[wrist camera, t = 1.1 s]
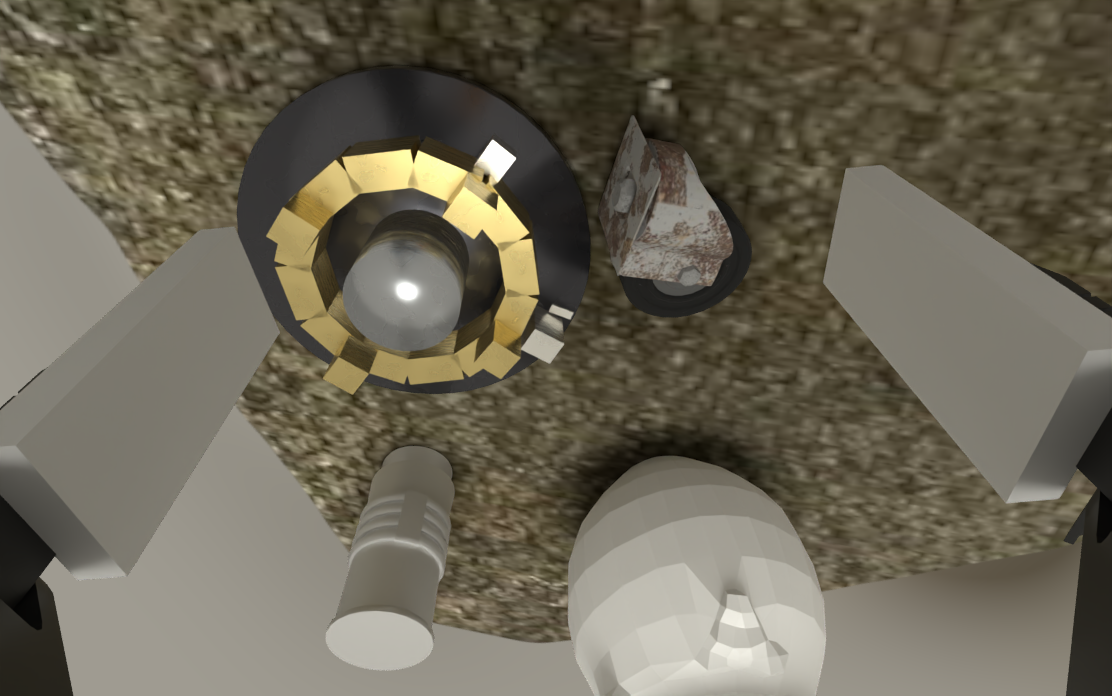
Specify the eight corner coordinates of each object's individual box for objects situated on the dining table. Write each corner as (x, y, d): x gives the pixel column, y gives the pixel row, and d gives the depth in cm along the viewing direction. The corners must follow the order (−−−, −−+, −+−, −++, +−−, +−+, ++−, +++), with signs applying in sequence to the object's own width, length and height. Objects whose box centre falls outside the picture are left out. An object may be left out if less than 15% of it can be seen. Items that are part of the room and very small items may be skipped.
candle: (468, 452, 49) (447, 621, 37) (445, 507, 53) (419, 677, 40) (386, 431, 48) (334, 600, 35) (368, 489, 51) (316, 661, 39)
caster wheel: (697, 280, 44) (569, 265, 41) (774, 141, 36) (623, 110, 34) (726, 345, 40) (585, 333, 37) (821, 203, 32) (651, 173, 29)
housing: (185, 89, 33) (105, 119, 27) (574, 43, 33) (584, 63, 26) (313, 395, 45) (278, 465, 39) (598, 365, 45) (609, 431, 39)
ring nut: (257, 153, 34) (214, 184, 29) (519, 123, 33) (517, 150, 29) (337, 367, 42) (314, 417, 37) (548, 345, 41) (550, 393, 37)
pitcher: (533, 541, 56) (536, 890, 35) (605, 393, 46) (667, 750, 25) (710, 575, 60) (807, 907, 39) (809, 445, 50) (1008, 791, 29)
